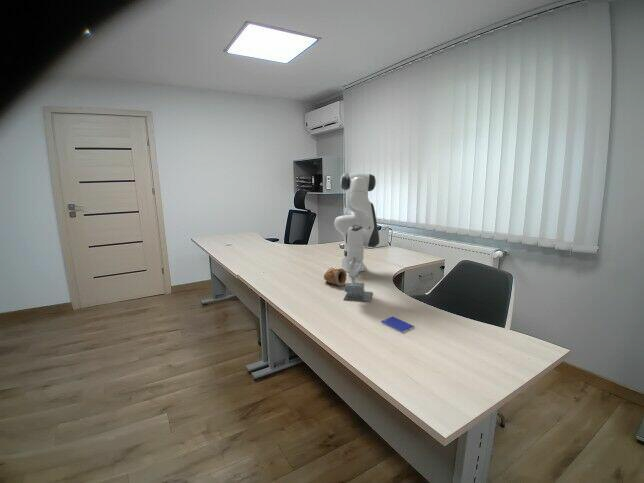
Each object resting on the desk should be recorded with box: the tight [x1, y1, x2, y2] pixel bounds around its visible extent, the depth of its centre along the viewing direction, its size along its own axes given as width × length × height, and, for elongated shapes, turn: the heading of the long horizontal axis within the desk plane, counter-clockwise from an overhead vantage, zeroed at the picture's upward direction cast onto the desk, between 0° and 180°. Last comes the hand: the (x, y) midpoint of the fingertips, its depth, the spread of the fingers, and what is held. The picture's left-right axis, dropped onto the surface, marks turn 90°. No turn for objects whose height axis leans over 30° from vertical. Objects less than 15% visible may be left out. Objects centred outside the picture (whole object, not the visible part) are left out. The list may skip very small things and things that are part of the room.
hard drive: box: [380, 316, 415, 334], centre depth 146 cm, size 2×8×12 cm
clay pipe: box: [323, 267, 348, 287], centre depth 204 cm, size 19×11×15 cm
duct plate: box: [343, 290, 373, 303], centre depth 181 cm, size 14×14×4 cm
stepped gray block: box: [344, 282, 365, 298], centre depth 181 cm, size 10×6×6 cm, turn 75°
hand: (355, 279), depth 180 cm, fingers open, 8 cm apart
